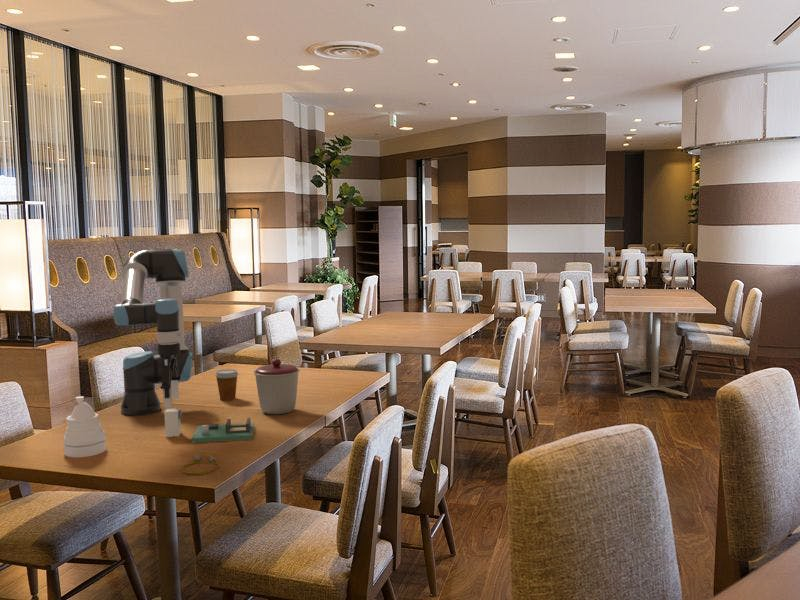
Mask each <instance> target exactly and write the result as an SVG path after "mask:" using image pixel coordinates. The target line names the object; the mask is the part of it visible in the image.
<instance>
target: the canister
mask: <svg viewBox="0 0 800 600" xmlns="http://www.w3.org/2000/svg"><path fill="white" fill-rule="evenodd" d="M300 371H301V369H300V368H299V367H297V366H295V365H293V364H290V363H289V364H287V363H282V360H281V359H280V358H274V359H272V361H271V364H267V365H262V366H259V367H257V368H256V369H255V370H253V374H254V376H255V382H256V388H257V396H258V402H259V406H260V410H261V411H262V412H263V413H264V414H268V415H284V414H287V413H288V414H289V413H291V412H292V411H294V409H295V407H296V404H297V395H298V381H299V373H300Z"/></svg>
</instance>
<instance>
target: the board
mask: <svg viewBox="0 0 800 600" xmlns="http://www.w3.org/2000/svg"><path fill="white" fill-rule="evenodd" d="M231 421H232V420H231V418H227V419H226V423H224V424H219V423H207V424H202V425H198V426H197V428H196V429H195V430H194V431H195V432H194V433H193V434H192V437H191V443H192V442H197V443H210V441H215V442H229V441H228V440H234V441H246V440H247V439H251V440H252V439H253V435H252V434H253V433H254V430H255V422H252V421H251V417H247V418H246V422H244V423H231ZM245 439H246V440H245Z"/></svg>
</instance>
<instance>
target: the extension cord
mask: <svg viewBox="0 0 800 600" xmlns="http://www.w3.org/2000/svg"><path fill="white" fill-rule="evenodd" d="M201 458H202V455H201V454H199V453H197V454H196V455H195V456H194V457H193V461H192V462H190V463H188V464H184V465H183V466H181V472H182V473H183V474H185V475H191V474H192V476H193V475H194V476H197V475H196V474H202V475H206V474H205V473H207V474H209V473H208V472H210V473H212V471H213V472H215V471H217V470H219V469H220V468H221V465H220V464H219V463H218V462H216V461H217V459H216V457H215V455H214V454H209V455H207V456H206V459H207V461H206V462H205V461H201ZM197 461H198V462H197ZM208 461H209V462H208ZM210 463H214V464H213V465H215V464H217V465H216V467H214V468H211V469H208V470H205V471H195V472H189V471H185V470H184V469H185V468H186V467H185V466H187V467H188V465H189V466H190V465H195V464H210ZM219 467H220V468H219ZM218 468H219V469H218ZM216 469H217V470H216ZM214 470H215V471H214Z"/></svg>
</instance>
